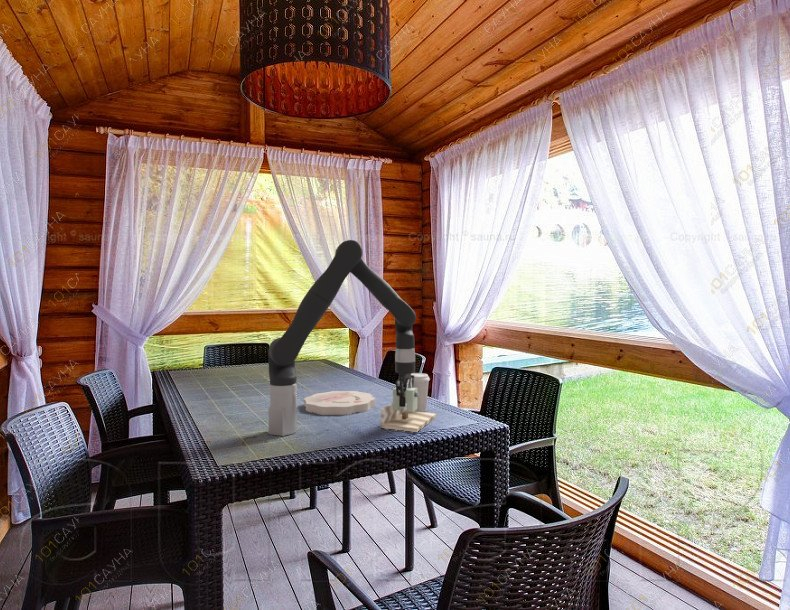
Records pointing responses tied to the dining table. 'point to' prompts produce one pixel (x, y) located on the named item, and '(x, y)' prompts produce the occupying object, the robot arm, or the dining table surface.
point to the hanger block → (406, 400)
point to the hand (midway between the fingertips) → (405, 404)
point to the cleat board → (404, 419)
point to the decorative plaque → (339, 402)
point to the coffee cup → (421, 390)
